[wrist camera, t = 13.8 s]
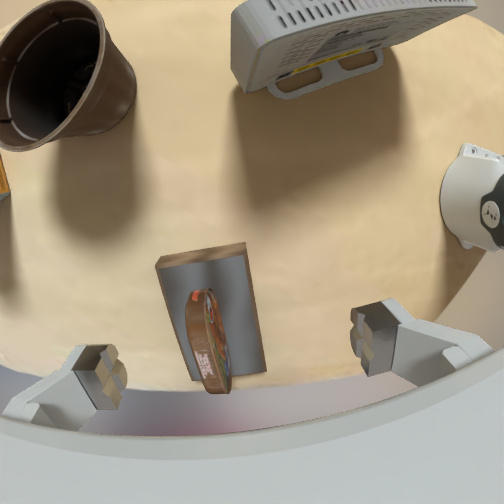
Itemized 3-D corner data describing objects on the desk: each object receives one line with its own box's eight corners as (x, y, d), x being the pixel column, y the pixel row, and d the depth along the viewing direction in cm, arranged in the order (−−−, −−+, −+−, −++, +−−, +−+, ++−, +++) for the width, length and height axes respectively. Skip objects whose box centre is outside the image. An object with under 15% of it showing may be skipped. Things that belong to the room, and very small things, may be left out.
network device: (377, 14, 31) (452, -40, 12) (404, 62, 33) (494, 29, 15) (222, 62, 33) (217, -15, 14) (252, 116, 36) (275, 79, 17)
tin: (233, 366, 43) (234, 406, 35) (212, 368, 43) (210, 409, 35) (212, 276, 38) (207, 308, 30) (188, 279, 38) (178, 312, 30)
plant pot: (39, 84, 30) (-29, 68, 15) (127, 22, 29) (81, -30, 14) (74, 170, 36) (2, 184, 20) (169, 108, 34) (130, 81, 19)
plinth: (245, 242, 41) (246, 251, 37) (264, 357, 47) (267, 373, 43) (160, 256, 41) (154, 266, 37) (193, 367, 47) (191, 382, 43)
